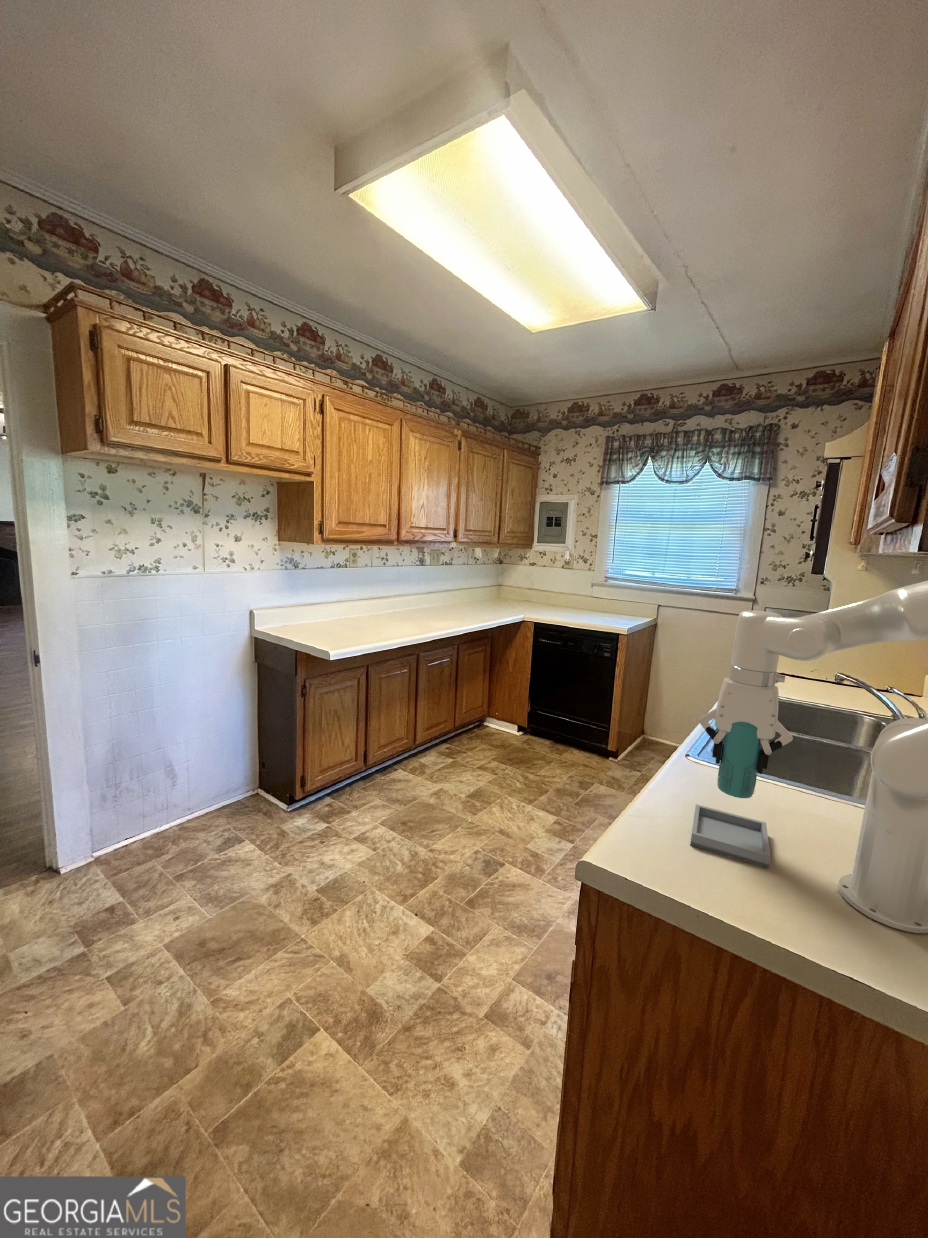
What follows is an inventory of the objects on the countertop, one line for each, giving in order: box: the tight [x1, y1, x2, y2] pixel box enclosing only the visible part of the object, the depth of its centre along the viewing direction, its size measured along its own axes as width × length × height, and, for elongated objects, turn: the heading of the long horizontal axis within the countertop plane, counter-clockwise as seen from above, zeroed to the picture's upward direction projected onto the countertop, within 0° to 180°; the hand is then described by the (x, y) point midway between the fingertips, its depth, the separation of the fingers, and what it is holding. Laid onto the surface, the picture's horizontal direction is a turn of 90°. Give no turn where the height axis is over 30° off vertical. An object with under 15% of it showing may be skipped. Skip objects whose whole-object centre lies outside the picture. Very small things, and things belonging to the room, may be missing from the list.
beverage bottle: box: [716, 722, 761, 799], centre depth 96 cm, size 6×7×20 cm
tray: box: [689, 804, 772, 870], centre depth 98 cm, size 13×13×2 cm
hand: (738, 765), depth 96 cm, fingers closed on beverage bottle, 6 cm apart
